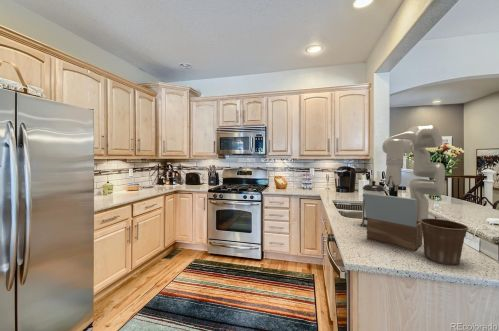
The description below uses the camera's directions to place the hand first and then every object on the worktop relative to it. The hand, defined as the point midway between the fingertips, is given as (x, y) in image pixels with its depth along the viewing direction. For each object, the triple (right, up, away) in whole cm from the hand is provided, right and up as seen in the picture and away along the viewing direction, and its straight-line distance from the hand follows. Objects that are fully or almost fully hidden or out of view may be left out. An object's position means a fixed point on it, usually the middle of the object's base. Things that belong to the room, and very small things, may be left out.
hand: (393, 198), depth 120 cm
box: (+2, -24, +2) cm, 24 cm away
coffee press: (+5, -23, +29) cm, 37 cm away
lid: (-5, -5, -4) cm, 8 cm away
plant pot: (+10, -25, -19) cm, 32 cm away
